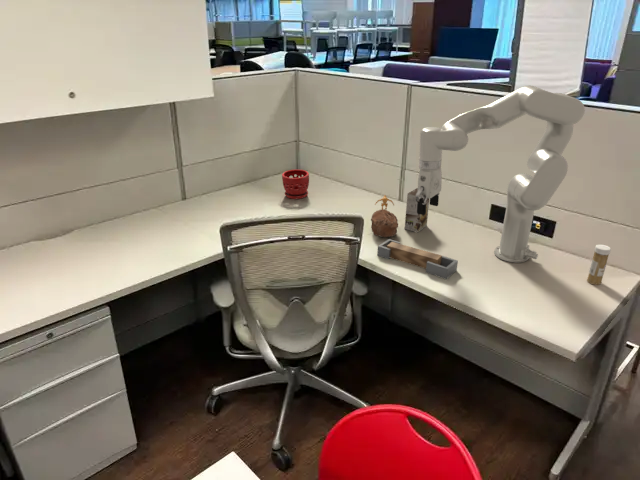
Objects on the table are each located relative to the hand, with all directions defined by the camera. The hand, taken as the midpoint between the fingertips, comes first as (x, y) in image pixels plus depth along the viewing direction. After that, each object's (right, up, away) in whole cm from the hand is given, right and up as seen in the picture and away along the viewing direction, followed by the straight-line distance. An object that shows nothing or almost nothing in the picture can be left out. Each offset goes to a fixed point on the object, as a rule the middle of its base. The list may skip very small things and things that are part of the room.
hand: (427, 209), depth 177 cm
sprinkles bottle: (+55, -26, -9) cm, 61 cm away
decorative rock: (-12, -9, +27) cm, 31 cm away
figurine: (-11, -2, +39) cm, 41 cm away
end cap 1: (-13, -16, +10) cm, 23 cm away
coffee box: (+2, -6, +32) cm, 33 cm away
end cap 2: (+4, -22, -2) cm, 23 cm away
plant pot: (-51, +11, +67) cm, 85 cm away
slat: (-4, -19, +5) cm, 20 cm away
